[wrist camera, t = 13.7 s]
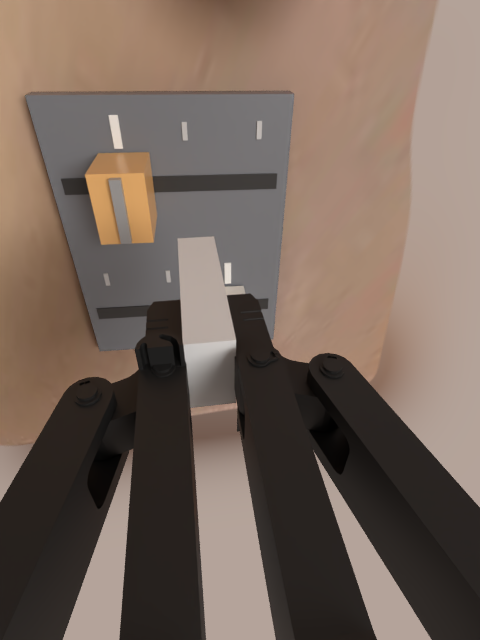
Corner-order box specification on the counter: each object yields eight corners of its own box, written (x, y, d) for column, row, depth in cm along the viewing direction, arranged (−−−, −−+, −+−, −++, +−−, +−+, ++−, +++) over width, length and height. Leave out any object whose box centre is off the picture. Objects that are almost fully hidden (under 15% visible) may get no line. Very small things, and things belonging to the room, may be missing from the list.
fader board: (102, 342, 34) (99, 352, 33) (31, 92, 22) (24, 95, 21) (270, 330, 35) (273, 340, 34) (289, 90, 23) (294, 94, 22)
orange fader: (111, 216, 25) (100, 247, 22) (98, 153, 23) (83, 177, 19) (157, 215, 26) (153, 245, 22) (149, 152, 23) (143, 175, 20)
